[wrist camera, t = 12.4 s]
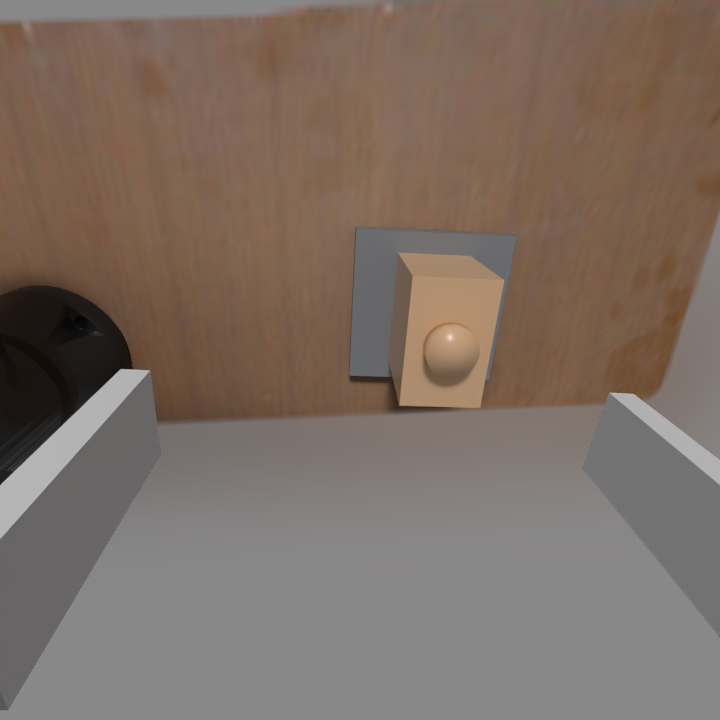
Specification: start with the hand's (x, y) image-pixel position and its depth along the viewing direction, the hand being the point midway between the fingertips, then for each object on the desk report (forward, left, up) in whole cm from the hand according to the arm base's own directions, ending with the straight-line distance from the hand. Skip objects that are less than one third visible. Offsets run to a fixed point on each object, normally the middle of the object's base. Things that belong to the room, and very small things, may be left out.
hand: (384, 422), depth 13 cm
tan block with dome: (+8, -7, -33) cm, 35 cm away
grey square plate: (+8, -7, -35) cm, 36 cm away
